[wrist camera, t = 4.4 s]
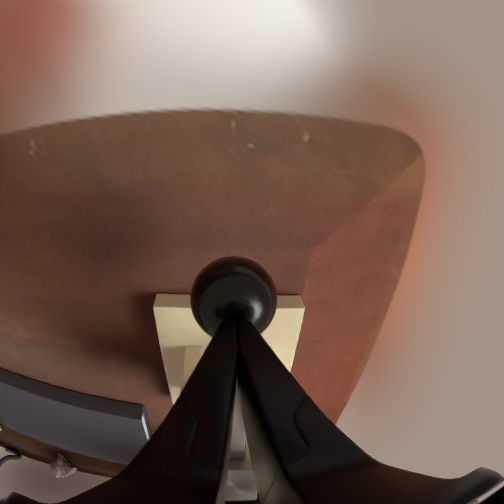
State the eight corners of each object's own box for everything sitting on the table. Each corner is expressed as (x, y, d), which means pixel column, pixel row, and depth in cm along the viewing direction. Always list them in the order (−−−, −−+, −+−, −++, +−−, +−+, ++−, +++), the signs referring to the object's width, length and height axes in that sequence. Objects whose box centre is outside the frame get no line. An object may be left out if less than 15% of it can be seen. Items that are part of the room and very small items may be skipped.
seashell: (49, 455, 30) (41, 472, 26) (64, 446, 28) (54, 466, 24) (72, 471, 31) (65, 488, 27) (90, 463, 29) (82, 484, 26)
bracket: (156, 293, 16) (118, 460, 7) (300, 294, 17) (353, 455, 8) (175, 396, 21) (167, 514, 12) (278, 396, 22) (299, 511, 13)
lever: (193, 249, 11) (184, 265, 8) (271, 250, 12) (288, 266, 9) (204, 464, 13) (203, 505, 10) (258, 464, 14) (265, 503, 11)
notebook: (144, 405, 21) (-37, 352, 18) (141, 420, 20) (-43, 362, 17) (157, 458, 27) (7, 417, 24) (156, 469, 26) (3, 426, 23)
